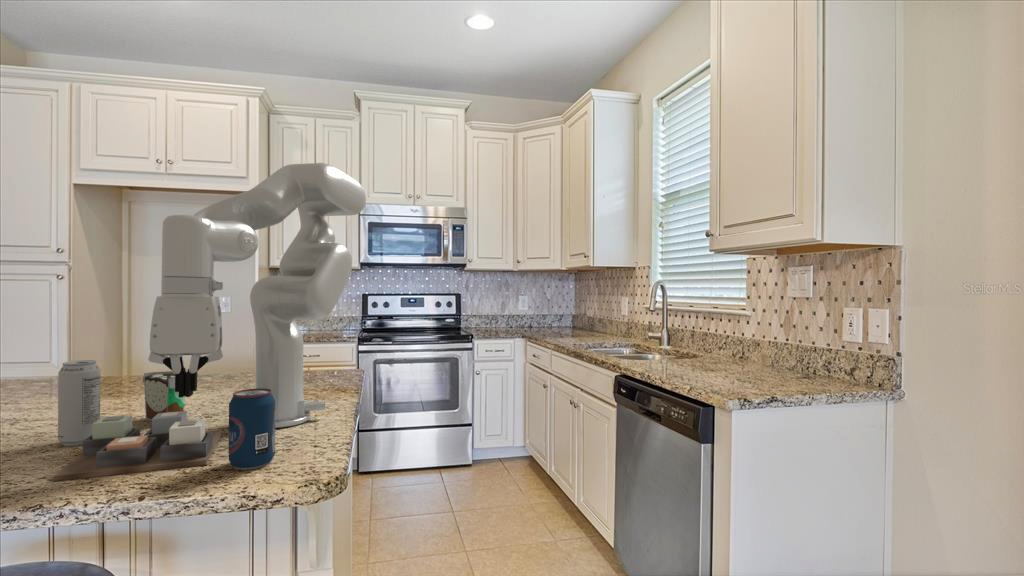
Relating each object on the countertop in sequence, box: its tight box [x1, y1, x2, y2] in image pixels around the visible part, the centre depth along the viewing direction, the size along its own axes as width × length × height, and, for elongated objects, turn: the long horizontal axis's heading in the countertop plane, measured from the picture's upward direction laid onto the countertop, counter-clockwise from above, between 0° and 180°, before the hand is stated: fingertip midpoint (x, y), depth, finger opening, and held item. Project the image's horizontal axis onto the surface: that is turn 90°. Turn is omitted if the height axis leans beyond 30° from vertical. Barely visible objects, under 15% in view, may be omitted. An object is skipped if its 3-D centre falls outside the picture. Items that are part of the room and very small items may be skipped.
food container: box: [142, 370, 186, 422], centre depth 112 cm, size 12×6×10 cm, turn 58°
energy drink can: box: [57, 359, 101, 447], centre depth 96 cm, size 6×6×15 cm
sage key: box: [92, 414, 133, 439], centre depth 90 cm, size 4×4×3 cm
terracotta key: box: [106, 435, 148, 451], centre depth 85 cm, size 4×4×3 cm
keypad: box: [52, 426, 223, 482], centre depth 89 cm, size 20×18×3 cm
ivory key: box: [169, 419, 206, 445], centre depth 88 cm, size 4×4×3 cm
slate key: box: [151, 410, 188, 434], centre depth 94 cm, size 4×4×3 cm
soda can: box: [228, 388, 276, 471], centre depth 85 cm, size 7×7×12 cm
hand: (186, 395), depth 87 cm, fingers closed
